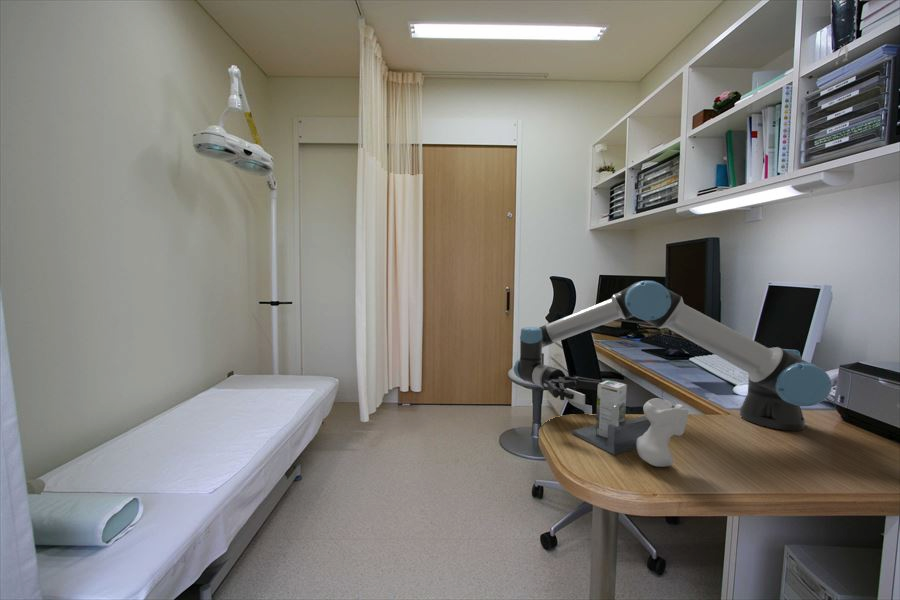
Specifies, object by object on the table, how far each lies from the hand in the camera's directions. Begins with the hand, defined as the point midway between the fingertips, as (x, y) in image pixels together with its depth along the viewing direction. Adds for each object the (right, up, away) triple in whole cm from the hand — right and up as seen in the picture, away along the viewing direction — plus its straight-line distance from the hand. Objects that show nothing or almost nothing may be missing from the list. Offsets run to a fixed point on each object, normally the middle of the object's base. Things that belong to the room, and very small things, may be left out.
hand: (601, 396), depth 101 cm
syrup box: (+2, -11, -2) cm, 11 cm away
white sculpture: (+8, -12, -16) cm, 21 cm away
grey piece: (+2, -11, -2) cm, 12 cm away
